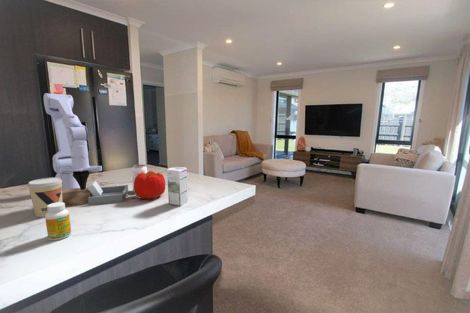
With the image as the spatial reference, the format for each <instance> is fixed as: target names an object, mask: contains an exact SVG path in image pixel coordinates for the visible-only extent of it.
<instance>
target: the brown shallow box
mask: <svg viewBox="0 0 470 313" xmlns="http://www.w3.org/2000/svg"><path fill="white" fill-rule="evenodd" d="M87 187H88V186H86V189H85V190H81V189H80V188H74V189H62V202H64V203H65V207H68V206H77V205H87V204H88V205H89V202H88V197H94V196H93V195H92V194H91V192H90V191H89V190H88V188H87Z"/></svg>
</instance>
